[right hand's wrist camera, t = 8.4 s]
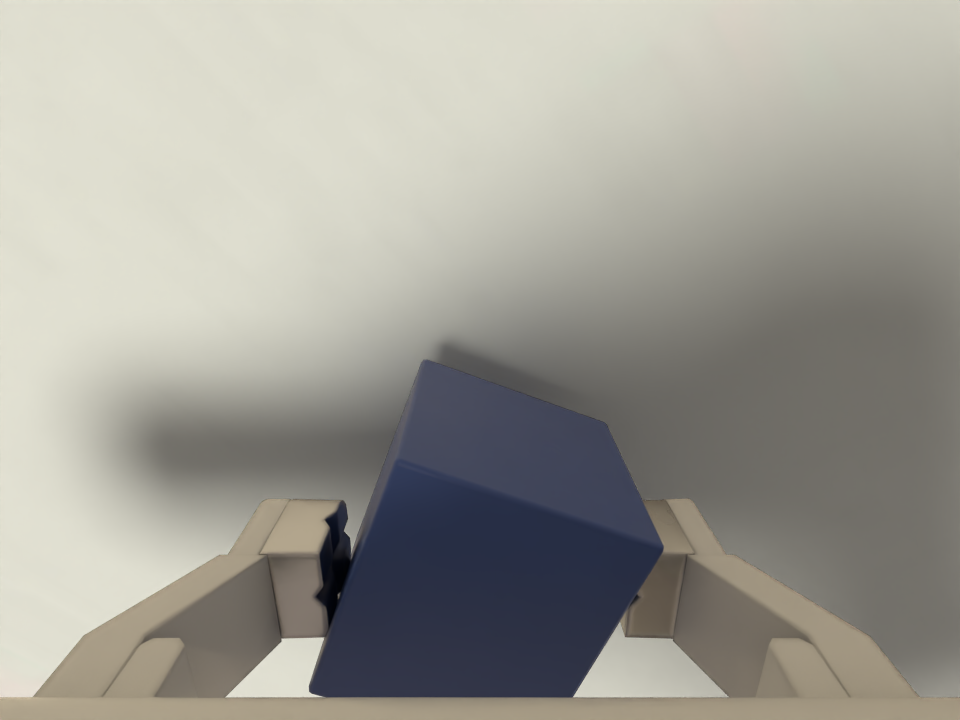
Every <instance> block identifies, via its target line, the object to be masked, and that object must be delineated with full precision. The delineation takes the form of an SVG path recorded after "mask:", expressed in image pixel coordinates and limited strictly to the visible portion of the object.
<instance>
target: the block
mask: <svg viewBox="0 0 960 720" xmlns="http://www.w3.org/2000/svg"><path fill="white" fill-rule="evenodd" d="M663 550H664V545H663V543H662V541H661V539H660V537H659V535H658V532H657V530H656V528H655V526H654V524H653V522H652V520H651V518H650V515H649V513H648V511H647V509H646V507H645V505H644V503H643V501H642V499H641V496H640V494H639V492H638V490H637V488H636V486H635V484H634V482H633V479H632V477H631V475H630V473H629V471H628V469H627V467H626V465H625V463H624V460H623V458H622V456H621V454H620V452H619V450H618V448H617V446H616V443H615V441H614V439H613V437H612V435H611V433H610V431H609V429H608V427H607V424H605V423H604V422H602V421H599V420H596V419H593V418H590V417H587V416H585V415H582V414H579V413H576V412H573V411H571V410H568V409H565V408H562V407H559V406H556V405H554V404H551V403H548V402H545V401H542V400H540V399H537V398H534V397H531V396H528V395H525V394H523V393H520V392H517V391H514V390H511V389H509V388H506V387H503V386H500V385H497V384H494V383H492V382H489V381H486V380H483V379H480V378H477V377H475V376H472V375H469V374H466V373H463V372H461V371H458V370H455V369H452V368H449V367H446V366H444V365H441V364H438V363H435V362H432V361H430V360H423V361H422V362H421V365H420V368H419V370H418V373H417V376H416V378H415V381H414V384H413V386H412V389H411V392H410V395H409V397H408V400H407V403H406V405H405V408H404V411H403V413H402V416H401V419H400V422H399V424H398V427H397V430H396V432H395V435H394V438H393V440H392V443H391V446H390V449H389V451H388V454H387V457H386V459H385V462H384V465H383V467H382V470H381V473H380V476H379V478H378V481H377V484H376V486H375V489H374V492H373V494H372V497H371V500H370V503H369V505H368V508H367V511H366V513H365V516H364V519H363V521H362V524H361V527H360V530H359V532H358V535H357V538H356V541H355V544H354V547H353V551H352V554H351V561H350V565H349V568H348V571H347V574H346V577H345V580H344V583H343V586H342V589H341V592H340V593H339V594H338V602H337V606H336V609H335V612H334V615H333V618H332V621H331V624H330V628H329V630H328V633H327V636H326V637H325V638H324V641H323V644H322V647H321V650H320V653H319V656H318V659H317V662H316V666H315V669H314V672H313V675H312V678H311V681H310V684H309V692H310V693H312V694H315V695H319V696H323V697H557V698H572V697H573V696H574V694H575V693H576V691H577V689H578V688H579V686H580V685H581V683H582V681H583V680H584V678H585V677H586V675H587V673H588V672H589V670H590V669H591V667H592V665H593V664H594V662H595V661H596V659H597V657H598V656H599V654H600V652H601V651H602V649H603V648H604V646H605V644H606V643H607V641H608V640H609V638H610V636H611V635H612V633H613V632H614V630H615V628H616V627H617V625H618V624H619V622H620V620H621V619H622V617H623V616H624V614H625V612H626V611H627V609H628V607H629V606H630V604H631V603H632V601H633V599H634V598H635V596H636V595H637V593H638V591H639V590H640V588H641V587H642V585H643V583H644V582H645V580H646V579H647V577H648V575H649V574H650V572H651V571H652V569H653V567H654V566H655V564H656V562H657V561H658V559H659V558H660V556H661V554H662V553H663Z"/></svg>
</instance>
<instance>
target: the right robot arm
mask: <svg viewBox="0 0 960 720" xmlns="http://www.w3.org/2000/svg"><path fill="white" fill-rule="evenodd" d="M642 501H643V503H644V505H645V507H646V509H647V511H648V513H649V515H650V518H651V520H652V522H653V524H654V526H655V528H656V530H657V532H658V535H659V537H660V539H661V541H662V543H663V545H664V550H663V553H662V554H661V556H660V558H659V559H658V561H657V562H656V564H655V566H654V567H653V569H652V571H651V572H650V574H649V575H648V577H647V579H646V580H645V582H644V583H643V585H642V587H641V588H640V590H639V591H638V593H637V595H636V596H635V598H634V599H633V601H632V603H631V604H630V606H629V607H628V609H627V611H626V612H625V614H624V616H623V617H622V619H621V620H620V622H621V626H622V629H623V632H624V635H625V637H639V638H673V641H674V642H675V643H676V644H677V645H678V646H679V647H680V648H681V649H682V650H683V651H684V652H685V653H686V654H687V655H688V656H689V657H690V658H691V659H692V660H693V661H694V662H695V663H696V664H697V665H698V666H699V667H700V668H701V669H702V670H703V671H704V672H705V673H706V674H707V675H708V676H709V677H710V678H711V679H712V680H713V681H714V682H715V683H716V684H717V685H718V686H719V687H720V688H721V689H722V690H723V691H724V692H725V693H726V694H727V695H728V696H729V697H730V698H557V697H262V698H225V697H226V696H227V695H228V694H229V693H230V692H231V691H232V690H233V689H234V688H235V687H236V686H237V685H238V684H239V683H240V682H241V681H242V680H243V679H244V678H245V677H246V676H247V675H248V674H249V673H250V672H251V671H252V670H253V669H254V668H255V667H256V666H257V665H258V664H259V663H260V662H261V661H262V660H263V659H264V658H265V657H266V656H267V655H268V654H269V653H270V652H271V651H272V650H273V649H274V648H275V647H276V646H277V645H278V644H279V643H280V642H281V638H314V637H326V636H327V633H328V630H329V628H330V624H331V621H332V618H333V615H334V612H335V609H336V606H337V602H338V594H339V593H340V592H341V589H342V586H343V583H344V580H345V577H346V574H347V571H348V568H349V565H350V561H351V545H350V537H349V536H348V535H347V534H346V533H345V532H344V528H345V525H346V523H347V520H348V516H347V509H346V504H345V502H344V501H343V500H316V499H292V500H291V499H266V500H264V501H262V502H261V503H260V505H259V506H258V508H257V510H256V511H255V513H254V514H253V516H252V517H251V519H250V521H249V522H248V524H247V525H246V527H245V528H244V530H243V532H242V533H241V535H240V536H239V538H238V539H237V541H236V543H235V544H234V546H233V547H232V549H231V550H230V552H229V554H228V555H219V556H217V557H215V558H213V559H212V560H210V561H208V562H207V563H205V564H203V565H202V566H200V567H198V568H197V569H195V570H193V571H192V572H190V573H188V574H187V575H185V576H183V577H182V578H180V579H178V580H176V581H175V582H173V583H171V584H170V585H168V586H166V587H165V588H163V589H161V590H160V591H158V592H156V593H155V594H153V595H151V596H150V597H148V598H146V599H144V600H143V601H141V602H139V603H138V604H136V605H134V606H133V607H131V608H129V609H128V610H126V611H124V612H123V613H121V614H119V615H118V616H116V617H114V618H113V619H111V620H109V621H107V622H106V623H104V624H102V625H101V626H99V627H97V628H96V629H94V630H92V631H91V632H89V633H87V634H86V635H84V636H83V637H82V638H81V640H80V641H79V642H78V643H77V644H76V646H75V647H74V648H73V649H72V650H71V652H70V653H69V654H68V655H67V656H66V658H65V659H64V660H63V661H62V662H61V664H60V665H59V666H58V667H57V668H56V670H55V671H54V672H53V673H52V674H51V676H50V677H49V678H48V679H47V680H46V682H45V683H44V684H43V685H42V687H41V688H40V689H39V690H38V691H37V693H36V694H35V695H34V696H33V697H0V720H960V697H919V696H918V695H917V694H916V692H915V691H914V690H913V689H912V687H911V686H910V685H909V684H908V682H907V681H906V680H905V679H904V677H903V676H902V675H901V674H900V673H899V671H898V670H897V669H896V668H895V666H894V665H893V664H892V663H891V661H890V660H889V659H888V658H887V656H886V655H885V654H884V653H883V652H882V650H881V649H880V648H879V647H878V645H877V644H876V643H875V642H874V640H873V639H872V638H871V637H870V636H869V635H867V634H865V633H864V632H862V631H860V630H859V629H857V628H855V627H854V626H852V625H850V624H849V623H847V622H845V621H844V620H842V619H840V618H839V617H837V616H835V615H834V614H832V613H830V612H829V611H827V610H825V609H824V608H822V607H821V606H819V605H817V604H816V603H814V602H812V601H811V600H809V599H807V598H806V597H804V596H802V595H801V594H799V593H797V592H796V591H794V590H792V589H791V588H789V587H787V586H786V585H784V584H782V583H781V582H779V581H777V580H776V579H774V578H772V577H771V576H769V575H767V574H766V573H764V572H762V571H761V570H759V569H757V568H756V567H754V566H752V565H751V564H749V563H747V562H746V561H744V560H742V559H741V558H739V557H737V556H736V555H726V553H725V551H724V550H723V548H722V547H721V545H720V543H719V542H718V540H717V539H716V537H715V536H714V534H713V532H712V531H711V529H710V528H709V526H708V524H707V523H706V521H705V520H704V518H703V516H702V515H701V513H700V512H699V510H698V509H697V507H696V505H695V504H694V502H693V501H692V500H690V499H663V500H642Z"/></svg>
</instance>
